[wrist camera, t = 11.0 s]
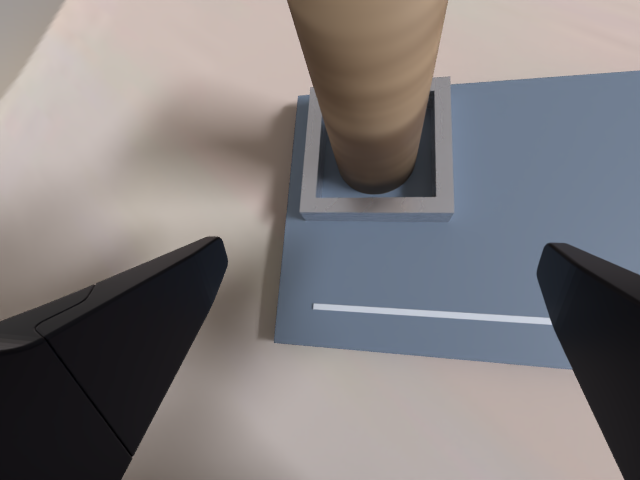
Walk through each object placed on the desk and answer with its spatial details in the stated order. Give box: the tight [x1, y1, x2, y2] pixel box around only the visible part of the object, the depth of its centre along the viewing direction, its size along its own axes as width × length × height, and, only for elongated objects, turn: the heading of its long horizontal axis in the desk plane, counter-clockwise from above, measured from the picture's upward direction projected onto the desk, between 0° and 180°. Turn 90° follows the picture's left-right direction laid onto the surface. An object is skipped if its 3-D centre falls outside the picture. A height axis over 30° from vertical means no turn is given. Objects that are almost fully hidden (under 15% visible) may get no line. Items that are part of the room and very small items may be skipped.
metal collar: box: [300, 77, 454, 222], centre depth 18 cm, size 8×8×2 cm
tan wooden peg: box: [287, 0, 448, 195], centre depth 13 cm, size 4×4×12 cm
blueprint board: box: [274, 71, 640, 370], centre depth 17 cm, size 15×22×1 cm
